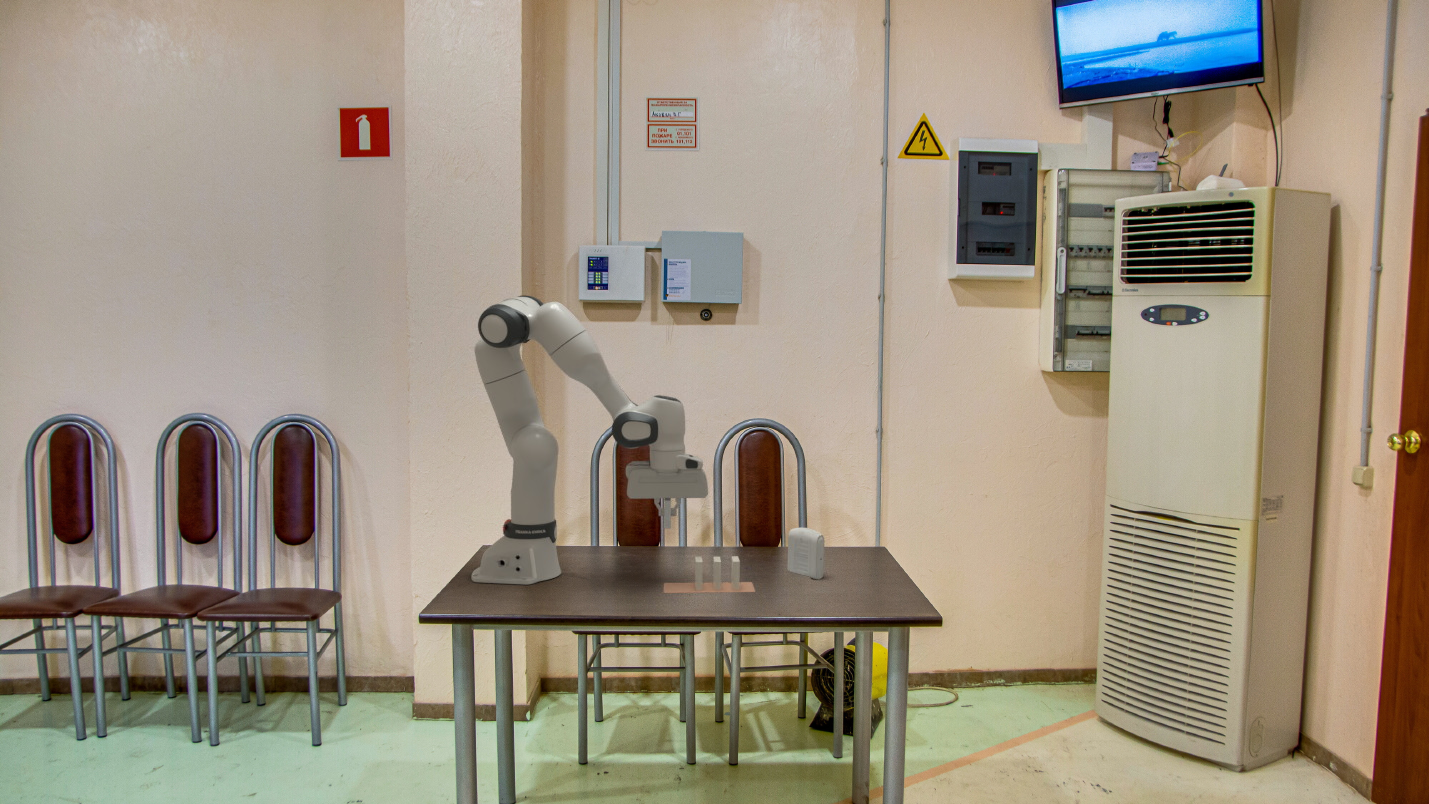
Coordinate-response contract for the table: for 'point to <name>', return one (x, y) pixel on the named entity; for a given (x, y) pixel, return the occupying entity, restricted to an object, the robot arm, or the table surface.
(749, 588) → the strip
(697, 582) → the domino
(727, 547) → the table surface
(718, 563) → the domino
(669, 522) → the domino
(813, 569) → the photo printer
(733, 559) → the domino
